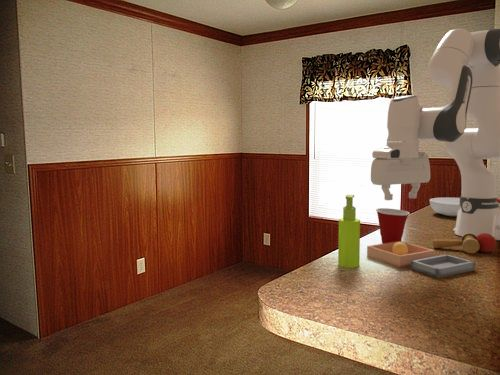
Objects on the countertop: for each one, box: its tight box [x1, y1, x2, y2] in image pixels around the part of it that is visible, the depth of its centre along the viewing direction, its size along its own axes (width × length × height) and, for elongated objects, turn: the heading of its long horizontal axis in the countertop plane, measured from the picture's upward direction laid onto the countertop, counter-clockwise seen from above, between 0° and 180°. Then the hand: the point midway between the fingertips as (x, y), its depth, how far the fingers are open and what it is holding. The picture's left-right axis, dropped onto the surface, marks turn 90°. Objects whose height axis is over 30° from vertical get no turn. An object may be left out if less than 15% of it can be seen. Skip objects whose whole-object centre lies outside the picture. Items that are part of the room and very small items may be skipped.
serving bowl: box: [429, 197, 461, 218], centre depth 199 cm, size 21×21×7 cm
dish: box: [366, 240, 436, 268], centre depth 128 cm, size 13×13×3 cm
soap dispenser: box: [337, 194, 361, 269], centre depth 122 cm, size 6×7×20 cm
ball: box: [392, 241, 408, 255], centre depth 128 cm, size 4×4×4 cm
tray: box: [410, 253, 476, 279], centre depth 117 cm, size 14×9×2 cm, turn 116°
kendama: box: [432, 233, 497, 254], centre depth 137 cm, size 8×6×18 cm
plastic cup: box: [375, 207, 411, 244], centre depth 144 cm, size 11×11×12 cm
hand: (400, 199), depth 126 cm, fingers open, 8 cm apart
